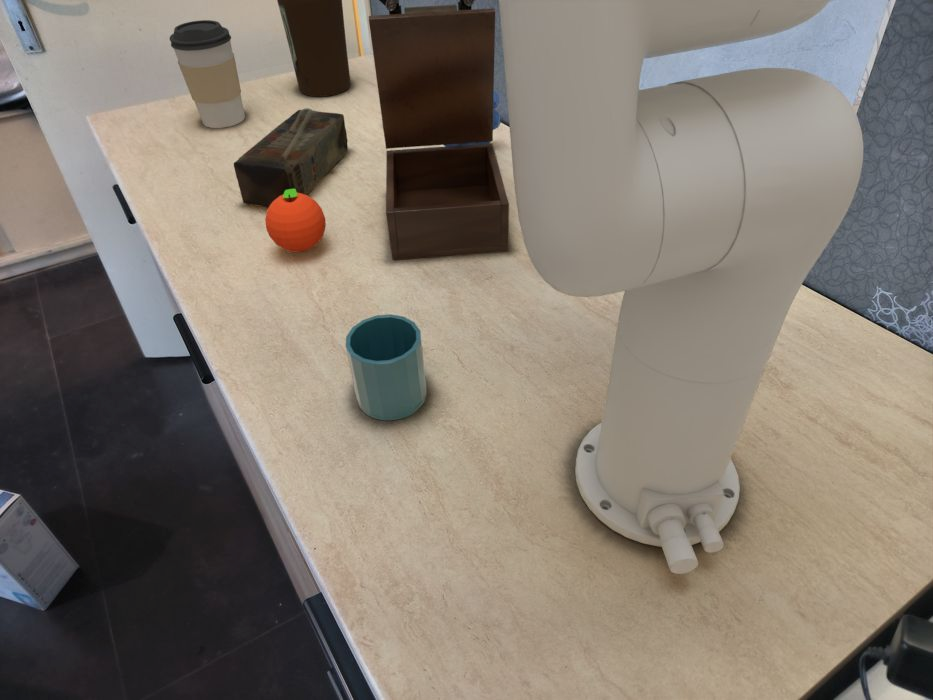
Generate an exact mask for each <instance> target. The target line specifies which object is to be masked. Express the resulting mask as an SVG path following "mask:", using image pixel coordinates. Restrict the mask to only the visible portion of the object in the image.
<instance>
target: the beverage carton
mask: <svg viewBox="0 0 933 700" xmlns="http://www.w3.org/2000/svg"><path fill="white" fill-rule="evenodd" d="M347 133H348V132H347V129H346V121H345V115H344V114H343V113H339V112H327V111H319V110H318V111H317V110H313V109H312V108H309V107H305V108H303V109H298V110H297V111H295V112H294V113H292V114H291V115H290V116H289V117H288V118H287V119H285V120H284V121H283V122H281V123H280V124H279V125H277V126H276V127H275V128H273V129H272V130H271V131H270V132H268V134H266V135H265V136H264V137H263V138H262V139H260V140H259V141H258V142H257V143H256V144H254V145H253V146H252V147H250V148H249V149H248V150H247V151H246V152H245V153H243V154H242V155H241V156H239V157H238V159H237V160H236V161H235V162H233V168H234V173H235V178H236V180H237V184H238V188H239V191H240V196H241V198H242V203H243V204H245V205H251V206H256V207H257V206H258V207H263V208H269V206H270V205H271V203H272V202H273V201H274V200H275V199H277V198H278V197H279V196H281V195H283V194H284V192H285V190H288V189H296V192H297V193H301V194H304V195H307V196H308V194H309V193H311V192H312V191H313V189H314V188H316V186H317V185H318V184H319V183H320V182H321V180H323V179H324V177H325V176H326V175H327V174H328V173H329V172H330V171H331V170H332V169H333V168H334V167H335V165H336V164H337V163H338V162H339V161H340V160H341V159H342V157H343V156H345V154H346V153H347V152H348V151H349V148H348V142H349V141H348V136H347V135H348V134H347Z"/></svg>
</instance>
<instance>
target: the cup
mask: <svg viewBox="0 0 933 700" xmlns="http://www.w3.org/2000/svg"><path fill="white" fill-rule="evenodd" d="M345 350H346V355H347V359H348V364H349V369H350V374H351V379H352V384H353V388H354V393H355V398H356V401H357V404H358V407H359V408H360V409H361V411H362V412H363V413H364V414H365V415H367V416H369V417H371V418H372V419H376V420H379V421H387V422H388V421H389V422H390V421H398V420H403V419H405V418H407V417H409V416H411V415H413V414H416V412H417V411H419V410H420V408H421V407H422V406H423V405H424V403H425V401H426V398H427V395H428V394H427V393H428V392H427V391H428V390H427V380H426V372H425V370H426V369H425V361H424V352H423V342H422V333H421V329H420V328H419V326H418V325H417V324H416V323H415V322H414V321H413V320H412V319H410V318H408V317H406V316H402V315H397V314H392V313H391V314H378V315H374V316H370V317H368V318H365V319H364V318H363V319H362V320H360V322H358V323H356V325H353V326H352V327H351V329H350V330H349V331H348V333H347V334H346V337H345Z"/></svg>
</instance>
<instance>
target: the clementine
mask: <svg viewBox="0 0 933 700" xmlns="http://www.w3.org/2000/svg"><path fill="white" fill-rule="evenodd" d="M264 219H265V229H266V231H267V234H268V236H269V238H270V239H271V240H272V241H273V242H274V243H275V244H276V246H277V247H280V248H281V249H283V250H284V251H288V252H294V253H301V252H305V251H309V250H311V249H313V248H314V247H316V246H317V245H318V244H319V243H320V241H321V240H322V238H323V237H324V235H325V231H326V227H327V226H326V217H325V213H324V210H323V208H322V207H321V206H320V204H319V203H318V202H317V201H316V200H315V199H314V198H313V197H311V196H309V195H308V194H307V195H304V194H301V193H297V192H296V189H288V190H285V192H284V194H283V195H281V196H279V197H278V198H277V199H275V200H274V201H273V202H272V203H271V205H270V206H269V207H267V210H266V214H265V218H264Z"/></svg>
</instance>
